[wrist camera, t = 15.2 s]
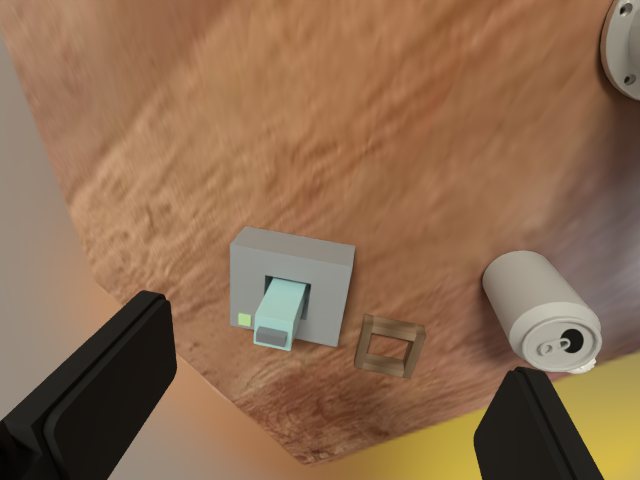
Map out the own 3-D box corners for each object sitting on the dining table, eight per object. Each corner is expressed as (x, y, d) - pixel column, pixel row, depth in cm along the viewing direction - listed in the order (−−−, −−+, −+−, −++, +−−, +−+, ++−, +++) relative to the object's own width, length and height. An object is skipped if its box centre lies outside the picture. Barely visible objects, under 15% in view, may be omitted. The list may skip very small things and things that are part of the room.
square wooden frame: (424, 325, 45) (425, 336, 44) (409, 367, 49) (410, 379, 47) (364, 314, 46) (364, 323, 44) (354, 356, 50) (353, 367, 48)
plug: (310, 270, 43) (291, 328, 33) (307, 295, 45) (287, 358, 35) (280, 264, 43) (251, 320, 34) (278, 289, 45) (250, 350, 36)
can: (553, 293, 41) (614, 372, 30) (486, 306, 43) (521, 384, 32) (545, 239, 38) (611, 306, 27) (474, 256, 40) (509, 323, 29)
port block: (355, 246, 42) (352, 268, 37) (340, 321, 47) (336, 348, 43) (245, 226, 43) (229, 245, 38) (243, 301, 48) (229, 326, 44)
